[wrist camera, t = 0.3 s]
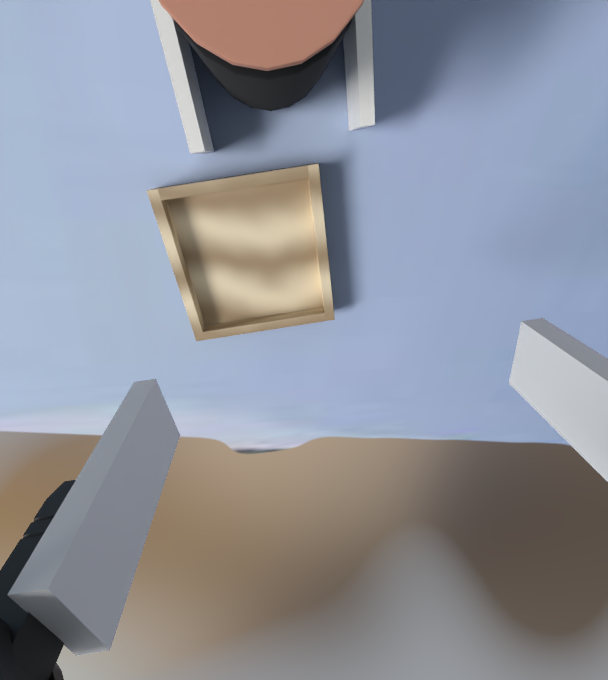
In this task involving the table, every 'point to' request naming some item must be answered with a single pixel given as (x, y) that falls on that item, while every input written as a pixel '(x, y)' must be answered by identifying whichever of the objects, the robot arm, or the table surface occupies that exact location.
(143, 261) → the table surface
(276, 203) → the tray
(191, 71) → the frame
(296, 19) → the coffee jar
